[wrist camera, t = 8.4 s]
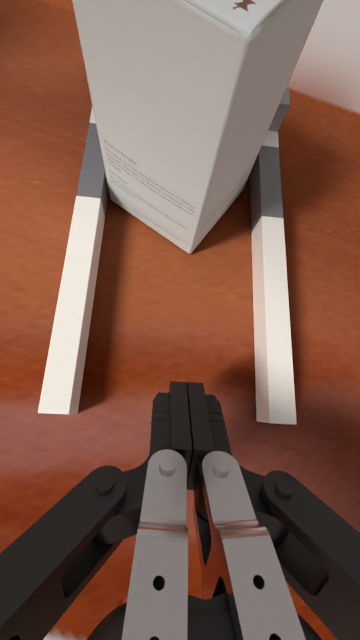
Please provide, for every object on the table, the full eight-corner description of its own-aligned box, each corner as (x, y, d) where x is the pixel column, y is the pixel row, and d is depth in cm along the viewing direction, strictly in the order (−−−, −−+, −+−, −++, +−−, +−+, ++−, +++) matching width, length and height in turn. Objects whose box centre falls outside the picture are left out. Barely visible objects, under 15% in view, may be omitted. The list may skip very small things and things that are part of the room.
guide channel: (50, 412, 16) (-2, 415, 11) (100, 112, 23) (84, 14, 17) (280, 422, 18) (344, 430, 12) (266, 135, 24) (303, 50, 18)
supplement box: (245, 191, 22) (360, -64, 10) (189, 258, 20) (250, 38, 8) (168, 139, 23) (190, -159, 11) (105, 198, 21) (47, -88, 9)
